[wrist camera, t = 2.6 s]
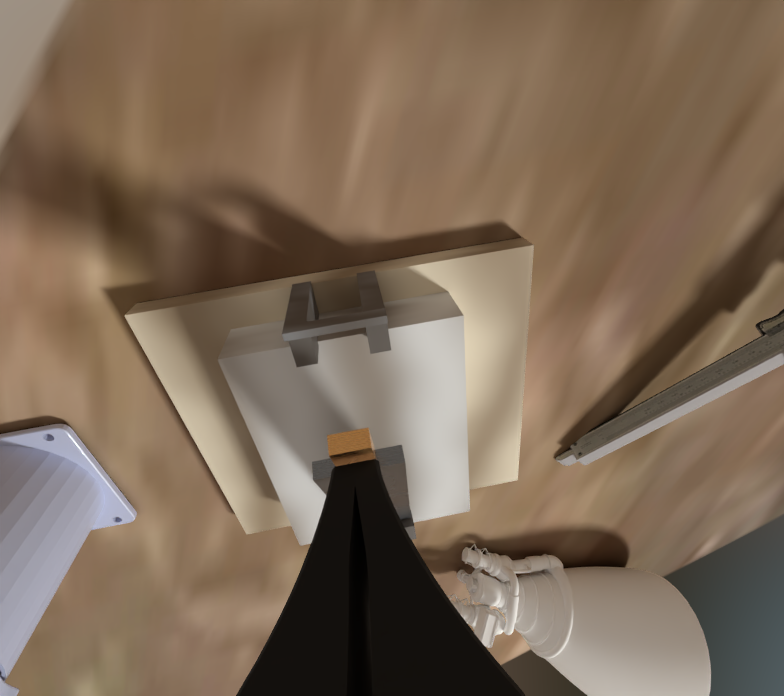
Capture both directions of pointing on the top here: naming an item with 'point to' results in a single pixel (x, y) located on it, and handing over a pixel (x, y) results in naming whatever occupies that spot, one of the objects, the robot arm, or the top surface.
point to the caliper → (685, 395)
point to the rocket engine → (591, 623)
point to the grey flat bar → (359, 449)
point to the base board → (485, 359)
